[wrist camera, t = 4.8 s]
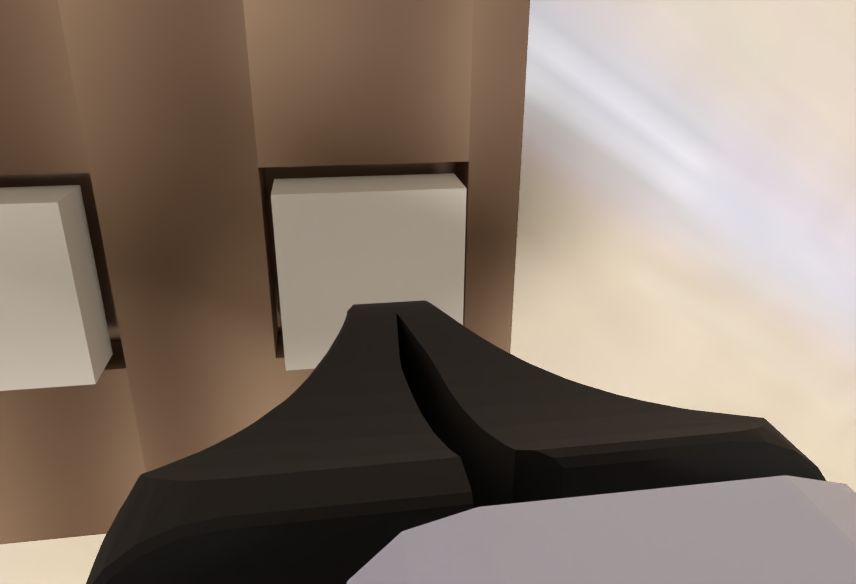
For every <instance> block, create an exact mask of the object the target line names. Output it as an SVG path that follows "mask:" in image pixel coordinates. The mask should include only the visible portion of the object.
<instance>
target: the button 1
mask: <svg viewBox="0 0 856 584" xmlns="http://www.w3.org/2000/svg"><path fill="white" fill-rule="evenodd" d="M112 355H113V352H112V347H111V342H110V337H109V331H108V326H107V321H106V316H105V311H104V306H103V301H102V295H101V290H100V285H99V280H98V275H97V270H96V265H95V259H94V254H93V249H92V244H91V239H90V234H89V228H88V223H87V218H86V213H85V208H84V203H83V198H82V192H81V187H80V185H63V186H31V187H0V391H7V390H21V389H35V388H49V387H63V386H78V385H92V384H96V383H97V381H98V379H99V377H100V376H101V374H102V372H103V370H104V369H105V367H106V365H107V363H108V362H109V360H110V358H111V356H112Z"/></svg>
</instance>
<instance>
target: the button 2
mask: <svg viewBox="0 0 856 584" xmlns="http://www.w3.org/2000/svg"><path fill="white" fill-rule="evenodd" d="M466 189H467V188H466V187H465V186H464V185H463V183H462V182H461V181H460V180H459V179H458V178H457V176H456V175H455V174H454V173H446V174H414V175H382V176H350V177H318V178H286V179H274V182H273V187H272V191H271V204H272V216H273V228H274V239H275V251H276V263H277V274H278V286H279V297H280V309H281V321H282V332H283V344H284V356H285V367H286V371H288V370H302V369H315V368H316V366H317V365H318V364H319V363H320V361H321V360H322V359H323V357H324V356H325V355H326V353H327V352H328V350H329V349H330V347H331V345H332V344H333V342H334V340H335V339H336V337H337V335H338V334H339V332H340V330H341V328H342V326H343V324H344V321H345V319H346V316H347V311H348V310H349V309H350V308H351V307H352V306H353V305H354V304H371V303H388V302H405V301H423V300H426V301H428V302H429V303H431V304H433V305H434V306H436V307H437V308H439V309H440V310H442V311H443V312H444V313H446V314H447V315H449V316H450V317H452V318H453V319H454V320H456V321H457V322H459V323H460V324H462V325H463V303H464V265H465V227H466Z"/></svg>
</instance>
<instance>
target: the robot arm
mask: <svg viewBox="0 0 856 584" xmlns="http://www.w3.org/2000/svg"><path fill="white" fill-rule="evenodd" d="M86 584H856V493H855V492H854V491H853V490H852V489H851V488H850V487H849V486H847V485H846V484H842V483H835V482H828V481H826V480H825V478H824V476H823V475H822V473H821V472H820V470H819V468H818V467H817V466H816V465H815V464H814V463H813V462H811V461H810V460H809V459H808V458H807V457H806V456H805V455H804V454H803V453H802V452H801V451H799V450H798V449H797V448H796V447H795V446H794V445H793V444H792V443H791V442H790V441H789V440H787V439H786V438H785V437H784V436H783V435H782V434H781V433H780V432H779V431H778V430H777V429H775V428H774V427H773V426H772V425H771V424H770V423H769V422H768V421H767V420H766V419H764V418H758V417H749V416H740V415H732V414H723V413H714V412H705V411H696V410H689V409H682V408H677V407H672V406H667V405H661V404H656V403H651V402H646V401H641V400H637V399H633V398H629V397H624V396H620V395H616V394H613V393H609V392H606V391H603V390H599V389H596V388H593V387H589V386H586V385H583V384H580V383H577V382H574V381H571V380H568V379H565V378H563V377H560V376H558V375H555V374H553V373H551V372H548V371H546V370H543V369H541V368H538V367H536V366H534V365H532V364H529V363H527V362H525V361H523V360H521V359H519V358H517V357H515V356H513V355H512V354H510V353H508V352H506V351H504V350H502V349H501V348H499V347H497V346H495V345H493V344H492V343H490V342H488V341H487V340H485V339H483V338H482V337H480V336H479V335H477V334H475V333H474V332H472V331H471V330H469V329H468V328H466V327H465V326H463V325H462V324H460V323H459V322H457V321H456V320H454V319H453V318H452V317H450V316H449V315H447V314H446V313H444V312H443V311H442V310H440V309H439V308H437V307H436V306H434V305H433V304H431V303H429V302H428V301H426V300H423V301H405V302H388V303H371V304H354V305H353V306H352V307H351V308H350V309H349V310H348V311H347V316H346V319H345V321H344V324H343V326H342V328H341V330H340V332H339V334H338V335H337V337H336V339H335V340H334V342H333V344H332V345H331V347H330V349H329V350H328V352H327V353H326V355H325V356H324V357H323V359H322V360H321V361H320V363H319V364H318V365H317V366H316V368H315V369H314V370H313V372H312V373H311V374H310V375H309V377H308V378H307V379H306V380H305V381H304V382H303V383H302V384H301V385H300V387H299V388H298V389H297V390H296V391H295V392H294V393H293V394H291V395H290V396H289V397H288V398H287V399H286V400H285V401H283V402H282V403H280V404H279V405H278V406H276V407H275V408H274V409H272V410H271V411H269V412H268V413H267V414H265V415H264V416H263V417H261V418H260V419H258V420H257V421H256V422H254V423H253V424H251V425H249V426H248V427H246V428H244V429H243V430H241V431H239V432H237V433H236V434H234V435H232V436H230V437H228V438H226V439H225V440H223V441H221V442H219V443H217V444H215V445H213V446H211V447H209V448H207V449H204V450H202V451H200V452H198V453H195V454H193V455H190V456H188V457H185V458H183V459H180V460H178V461H175V462H172V463H170V464H167V465H165V466H162V467H160V468H157V469H155V470H152V471H149V472H146V473H143V474H141V475H140V476H139V477H138V479H137V481H136V482H135V484H134V486H133V488H132V490H131V491H130V493H129V495H128V497H127V499H126V500H125V502H124V504H123V505H122V507H121V508H120V510H119V512H118V514H117V515H116V517H115V519H114V521H113V523H112V525H111V527H110V528H109V530H108V532H107V534H106V536H105V538H104V540H103V542H102V545H101V547H100V550H99V552H98V554H97V557H96V559H95V562H94V564H93V567H92V570H91V572H90V575H89V578H88V580H87V583H86Z"/></svg>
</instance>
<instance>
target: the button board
mask: <svg viewBox="0 0 856 584" xmlns="http://www.w3.org/2000/svg"><path fill="white" fill-rule="evenodd" d="M529 8H530V0H0V187H31V186H63V185H80V187H81V192H82V198H83V203H84V208H85V213H86V218H87V223H88V228H89V234H90V239H91V244H92V249H93V254H94V259H95V265H96V270H97V275H98V280H99V285H100V290H101V295H102V301H103V306H104V311H105V316H106V321H107V326H108V331H109V337H110V342H111V347H112V352H113V355H112V356H111V358H110V360H109V362H108V363H107V365H106V367H105V369H104V370H103V372H102V374H101V376H100V377H99V379H98V381H97V383H96V384H92V385H78V386H63V387H49V388H35V389H21V390H7V391H0V544H7V543H17V542H27V541H37V540H47V539H57V538H67V537H77V536H86V535H96V534H106V533H107V532H108V530H109V528H110V527H111V525H112V523H113V521H114V519H115V517H116V515H117V514H118V512H119V510H120V508H121V507H122V505H123V504H124V502H125V500H126V499H127V497H128V495H129V493H130V491H131V490H132V488H133V486H134V484H135V482H136V481H137V479H138V477H139V476H140V475H141V474H143V473H146V472H149V471H152V470H155V469H157V468H160V467H162V466H165V465H167V464H170V463H172V462H175V461H178V460H180V459H183V458H185V457H188V456H190V455H193V454H195V453H198V452H200V451H202V450H204V449H207V448H209V447H211V446H213V445H215V444H217V443H219V442H221V441H223V440H225V439H226V438H228V437H230V436H232V435H234V434H236V433H237V432H239V431H241V430H243V429H244V428H246V427H248V426H249V425H251V424H253V423H254V422H256V421H257V420H258V419H260V418H261V417H263V416H264V415H265V414H267V413H268V412H269V411H271V410H272V409H274V408H275V407H276V406H278V405H279V404H280V403H282V402H283V401H285V400H286V399H287V398H288V397H289V396H290V395H291V394H293V393H294V392H295V391H296V390H297V389H298V388H299V387H300V385H301V384H302V383H303V382H304V381H305V380H306V379H307V378H308V377H309V375H310V374H311V373H312V372H313V370H314V369H302V370H288V371H286V367H285V356H284V344H283V332H282V321H281V309H280V297H279V286H278V274H277V263H276V251H275V239H274V228H273V216H272V204H271V191H272V187H273V182H274V179H286V178H318V177H350V176H382V175H414V174H446V173H454V174H455V175H456V176H457V178H458V179H459V180H460V181H461V182H462V183H463V185H464V186H465V187H466V188H467V189H466V227H465V265H464V303H463V326H465V327H466V328H468V329H469V330H471V331H472V332H474V333H475V334H477V335H479V336H480V337H482V338H483V339H485V340H487V341H488V342H490V343H492V344H493V345H495V346H497V347H499V348H501V349H502V350H504V351H506V352H508V353H510V345H511V327H512V309H513V292H514V274H515V256H516V239H517V221H518V203H519V185H520V168H521V150H522V132H523V115H524V97H525V79H526V61H527V44H528V26H529Z"/></svg>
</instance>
